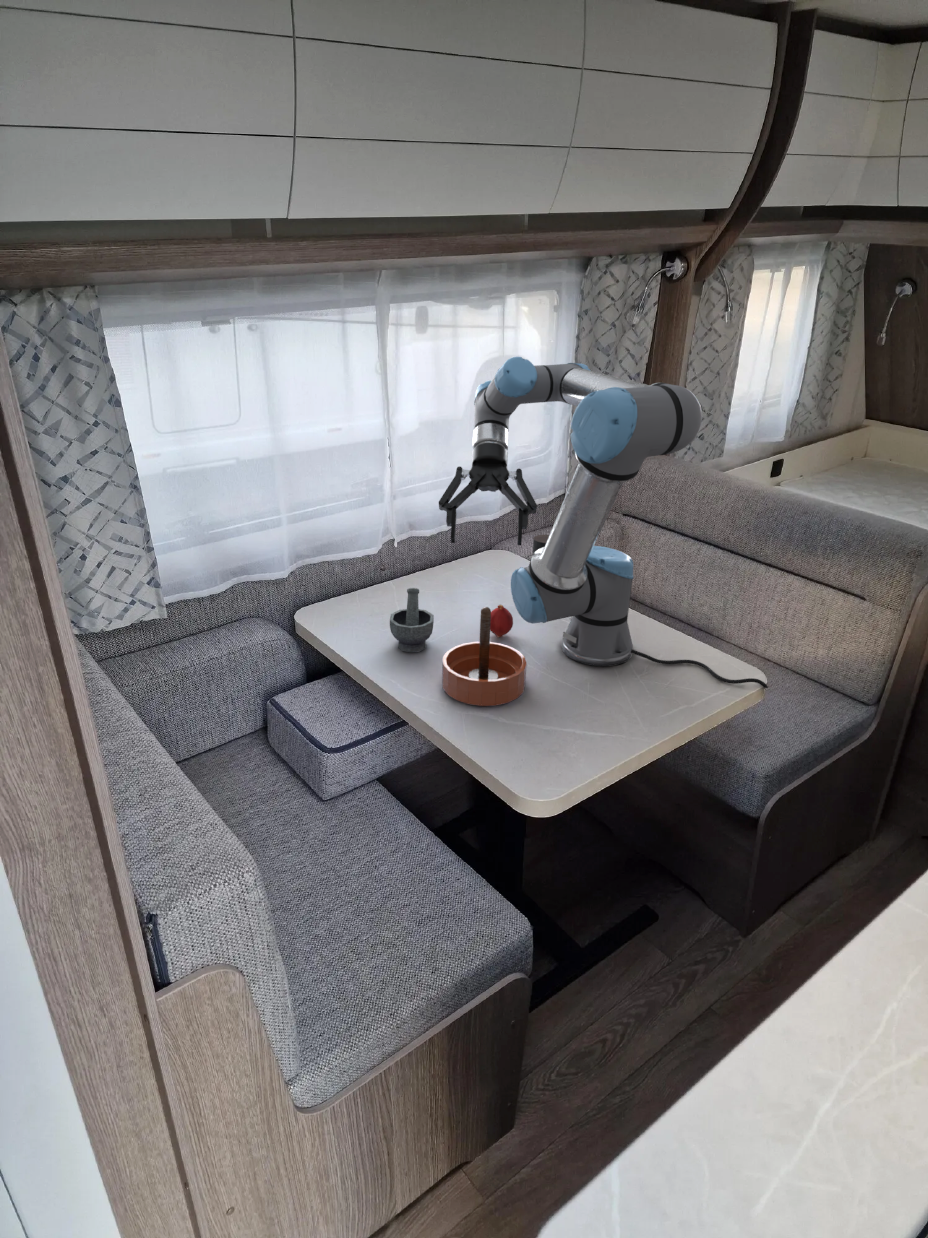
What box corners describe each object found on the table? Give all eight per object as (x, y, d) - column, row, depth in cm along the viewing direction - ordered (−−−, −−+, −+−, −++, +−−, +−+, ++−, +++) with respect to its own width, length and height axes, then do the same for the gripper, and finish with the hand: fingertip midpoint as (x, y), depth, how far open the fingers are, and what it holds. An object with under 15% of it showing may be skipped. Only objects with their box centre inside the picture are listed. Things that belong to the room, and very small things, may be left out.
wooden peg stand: (500, 678, 167) (504, 602, 159) (494, 693, 161) (498, 615, 154) (471, 674, 168) (474, 599, 160) (465, 689, 162) (467, 611, 155)
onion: (491, 629, 188) (492, 597, 185) (515, 633, 187) (517, 601, 183) (483, 639, 183) (484, 607, 180) (508, 644, 182) (509, 611, 178)
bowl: (530, 672, 170) (532, 647, 168) (517, 713, 156) (518, 686, 153) (453, 662, 174) (453, 637, 171) (433, 702, 159) (433, 675, 156)
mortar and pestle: (432, 656, 176) (432, 606, 170) (388, 655, 175) (387, 605, 170) (434, 633, 186) (434, 585, 181) (393, 632, 186) (392, 584, 180)
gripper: (547, 461, 176) (546, 551, 169) (432, 457, 177) (426, 546, 170) (550, 442, 169) (548, 535, 162) (430, 438, 170) (423, 531, 163)
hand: (486, 541), depth 166 cm, fingers open, 13 cm apart
